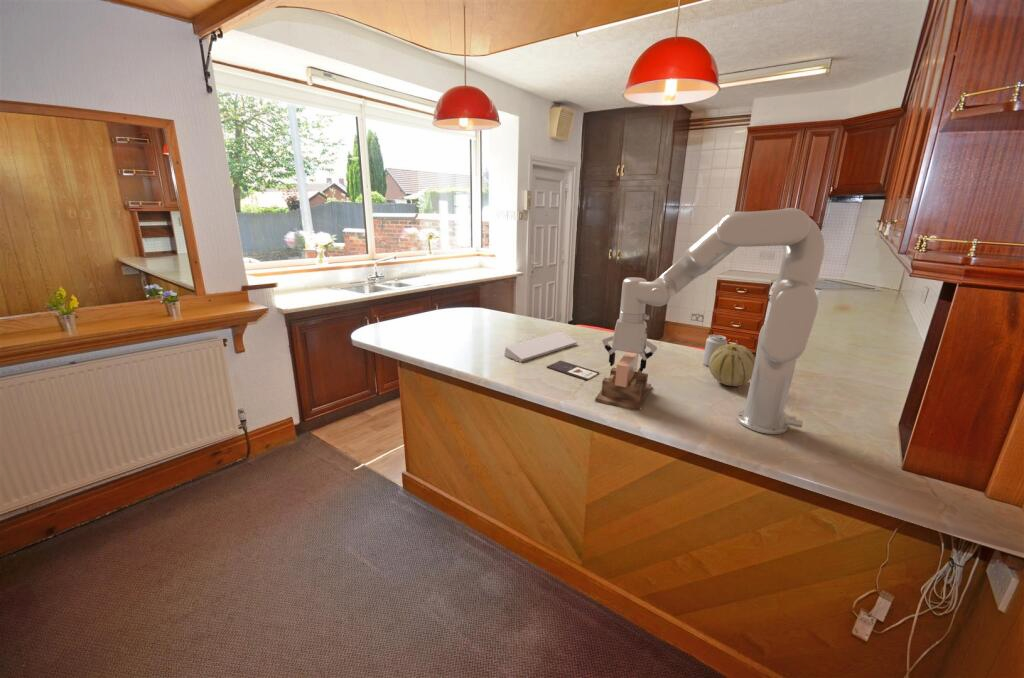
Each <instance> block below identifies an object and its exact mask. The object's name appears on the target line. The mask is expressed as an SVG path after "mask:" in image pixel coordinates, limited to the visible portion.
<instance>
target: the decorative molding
mask: <svg viewBox="0 0 1024 678" xmlns="http://www.w3.org/2000/svg"><path fill="white" fill-rule="evenodd" d="M577 343H578V341H577V340H575V339H574V338H572V337H571V336H569V335H568V334H567V333H565V332H564V331H557V332H554V333H551V334H547V335H544V336H540V337H536V338H533V339H529V340H526V341H522V342H518V343H516V344H515V343H514V344H511V345H507V346H505V350H504V357H506V356H507V357H506V358H508V357H509V359H512V360H514V361H516V360H517V361H516V362H518V361H519V362H518V363H523V362H526V361H529V360H533V359H535V358H538V357H542V356H544V355H548V354H551V353H555V352H556V351H560V350H563V349H567V348H570V347H573V346H576V345H577ZM532 358H533V359H532Z"/></svg>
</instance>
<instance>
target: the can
mask: <svg viewBox="0 0 1024 678" xmlns="http://www.w3.org/2000/svg"><path fill="white" fill-rule="evenodd" d="M727 344H728V340H727V337H726V336H724V335H721V334H710V335H708V338H706V340H705V347H704V351H703V358H702V363H703V364H704V366H707V367H708V368H709V360H710V358H711V355H712V354H713V353H714V352H715V351H716V349H718V348H719V347H721V346H723V345H727Z"/></svg>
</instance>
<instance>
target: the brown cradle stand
mask: <svg viewBox="0 0 1024 678" xmlns="http://www.w3.org/2000/svg"><path fill="white" fill-rule="evenodd" d="M616 368H617V367H612V368H611V370H610V371H609V373H610V375H609V376H608V377H604V378H603V379H602V382H601V383H602V384H601V390H600V392H599V393H597V395H596V397H595V398H594V401H595V402H597V403H603V404H606V405H610V406H615V407H619V408H624V409H628V408H629V410H633V409H634V411H637V410H638V412H640V411H641V409H640V408H642V406H643V405H644V402H645V400H646V398H647V396H648V394H649V392H650V390H651V388H652V384H651V383H648V378H649V373H644V372H643V371H642V372H641V371H640V367H639V368H638V369H637V371H636V372H635V374H634V376H633V377H632V379H631V380H630V382H629V383H628V385H627V387H622V386H617V385H615V379H616ZM639 410H640V411H639Z"/></svg>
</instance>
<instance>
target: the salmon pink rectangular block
mask: <svg viewBox="0 0 1024 678" xmlns="http://www.w3.org/2000/svg"><path fill="white" fill-rule="evenodd" d="M639 356H640V354H637V353H631V352H625V353H624V355H623V356H622V357H621V358H620V360H619V361H618V362H617V363H616V367H615V368H616V379H615V385H617V386H622V387H627V385H628V383H629V382H630V380H631V379H632V377H633V376H634V374H635V372H638V363H639V362H638V361H639Z"/></svg>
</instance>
